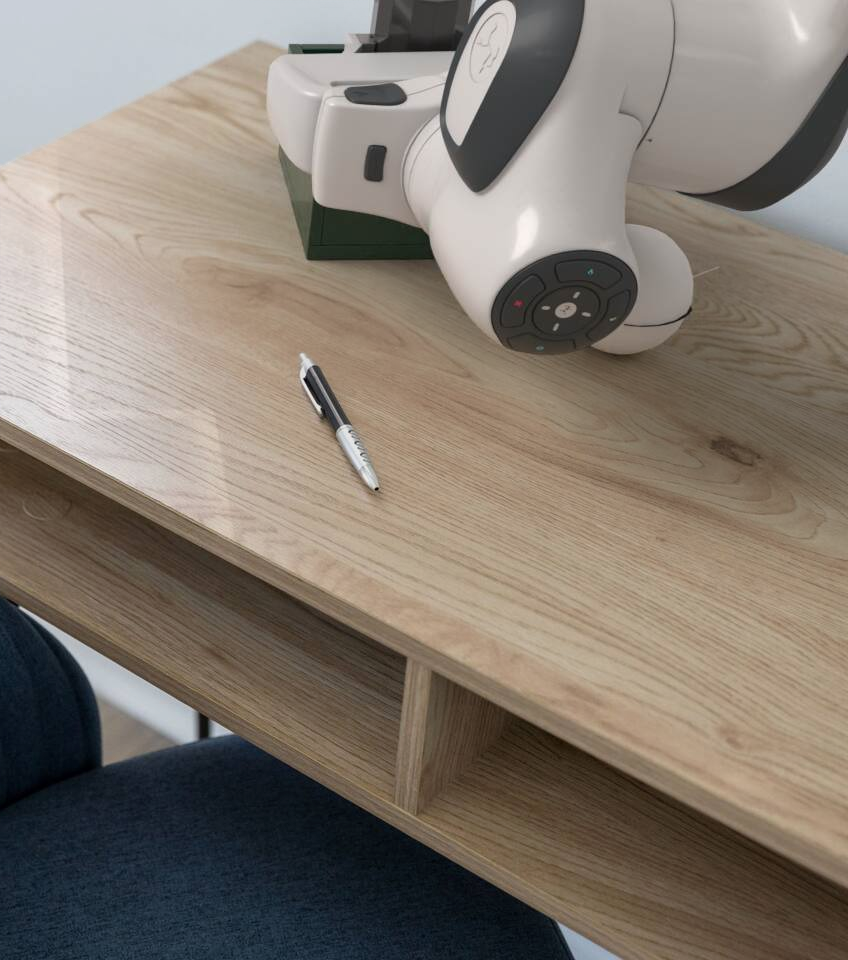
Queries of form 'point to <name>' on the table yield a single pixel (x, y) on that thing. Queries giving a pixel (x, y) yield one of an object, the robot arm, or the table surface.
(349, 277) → the table surface
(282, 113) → the robot arm
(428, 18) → the cup
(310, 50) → the bin
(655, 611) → the table surface
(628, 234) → the seamed sphere
